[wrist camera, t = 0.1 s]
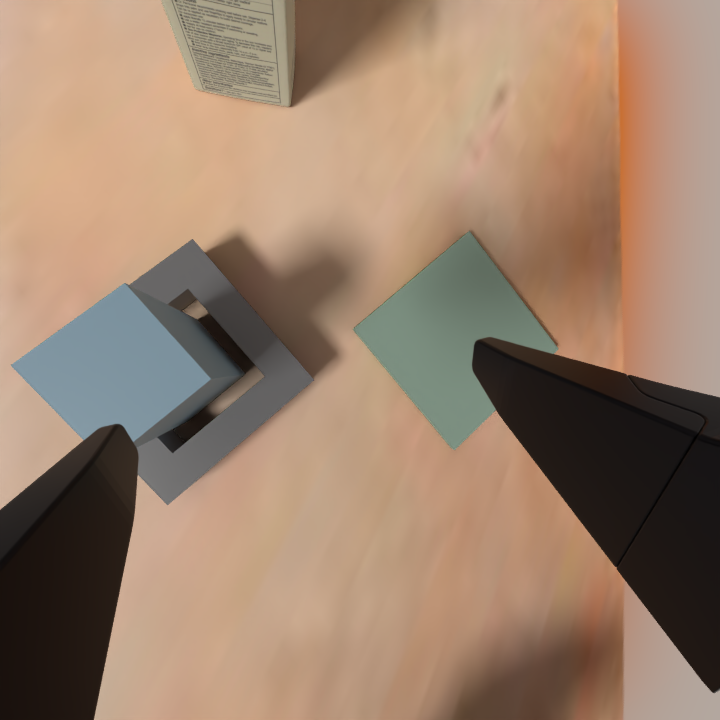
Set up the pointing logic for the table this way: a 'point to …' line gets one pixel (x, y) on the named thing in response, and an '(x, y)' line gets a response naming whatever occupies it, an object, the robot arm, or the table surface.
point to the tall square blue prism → (129, 367)
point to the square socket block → (281, 369)
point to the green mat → (449, 335)
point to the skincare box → (237, 46)
